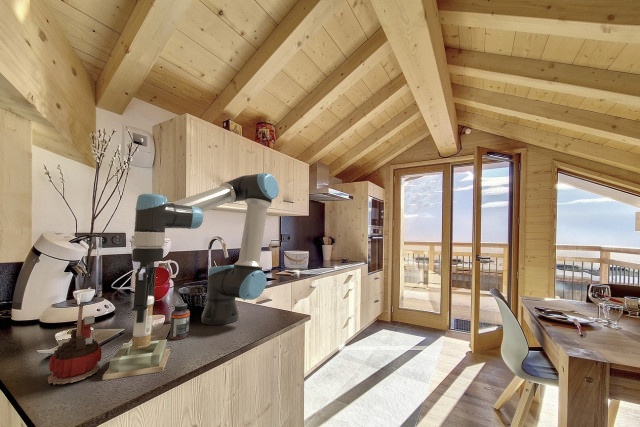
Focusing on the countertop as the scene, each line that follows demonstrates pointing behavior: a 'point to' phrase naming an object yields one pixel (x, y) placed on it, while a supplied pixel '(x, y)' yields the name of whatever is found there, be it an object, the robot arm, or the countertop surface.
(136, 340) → the sprinkles bottle
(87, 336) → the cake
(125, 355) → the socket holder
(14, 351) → the countertop surface
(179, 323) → the supplement bottle
